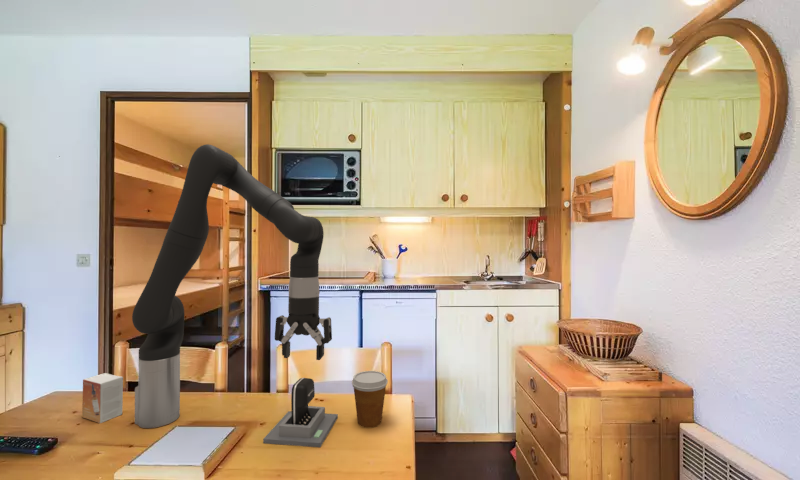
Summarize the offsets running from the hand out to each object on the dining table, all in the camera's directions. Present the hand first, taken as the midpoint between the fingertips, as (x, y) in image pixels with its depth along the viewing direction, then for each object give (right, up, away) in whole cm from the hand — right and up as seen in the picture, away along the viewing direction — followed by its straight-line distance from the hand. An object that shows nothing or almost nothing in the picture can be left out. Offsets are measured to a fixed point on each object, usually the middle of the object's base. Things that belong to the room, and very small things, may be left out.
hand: (303, 358), depth 91 cm
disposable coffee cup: (+17, -19, +4) cm, 25 cm away
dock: (0, -18, 0) cm, 18 cm away
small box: (-57, -18, +7) cm, 60 cm away
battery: (0, -17, 0) cm, 17 cm away
